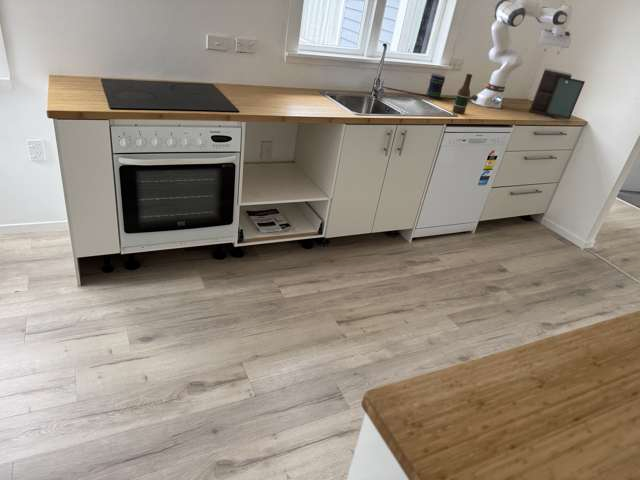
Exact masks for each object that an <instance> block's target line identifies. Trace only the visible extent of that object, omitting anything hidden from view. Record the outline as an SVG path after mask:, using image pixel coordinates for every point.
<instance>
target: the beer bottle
mask: <svg viewBox="0 0 640 480" xmlns="http://www.w3.org/2000/svg"><path fill="white" fill-rule="evenodd" d="M472 78H473V74H471V73H466V75H465V79H464V81H463V84H462V86H461V87H460V88H459V89H458V91H457V93H456V97H455V98H456V99H454V104H453V106H452V112H453V113H454V114H458V115H464V114H465V112H466V110H467V107H468V104H469V100H470V99H469V98H471V90H470V85H471V82H472Z"/></svg>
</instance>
